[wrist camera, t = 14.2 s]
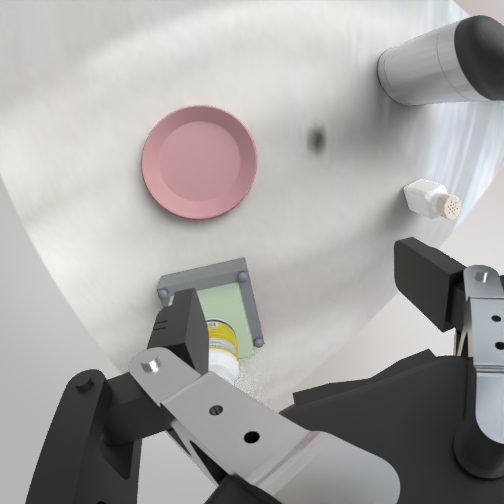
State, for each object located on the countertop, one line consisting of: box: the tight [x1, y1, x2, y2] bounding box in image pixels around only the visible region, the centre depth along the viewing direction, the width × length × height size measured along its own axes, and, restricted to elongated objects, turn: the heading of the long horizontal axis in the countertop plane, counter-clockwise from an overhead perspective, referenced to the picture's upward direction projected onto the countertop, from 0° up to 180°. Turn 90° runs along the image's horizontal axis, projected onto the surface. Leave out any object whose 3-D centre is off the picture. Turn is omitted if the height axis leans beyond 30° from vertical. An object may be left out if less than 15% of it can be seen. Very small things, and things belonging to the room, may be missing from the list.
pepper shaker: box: [404, 179, 461, 220], centre depth 38 cm, size 4×4×10 cm
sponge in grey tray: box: [157, 258, 264, 359], centre depth 42 cm, size 12×12×8 cm
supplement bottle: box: [205, 318, 240, 386], centre depth 33 cm, size 5×5×10 cm
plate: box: [142, 105, 257, 219], centre depth 38 cm, size 14×14×2 cm
